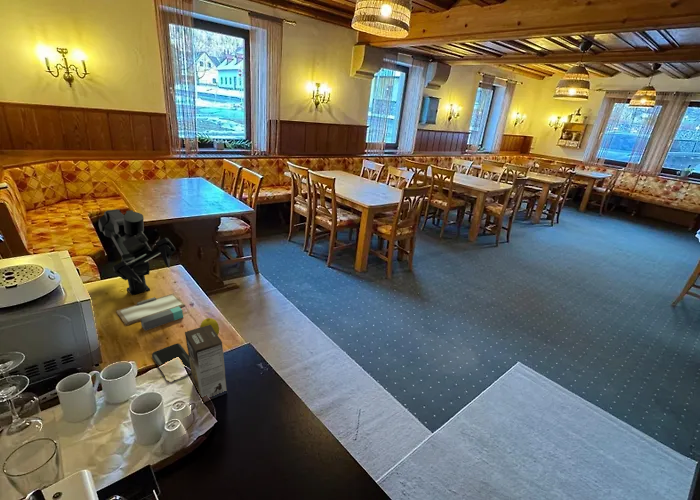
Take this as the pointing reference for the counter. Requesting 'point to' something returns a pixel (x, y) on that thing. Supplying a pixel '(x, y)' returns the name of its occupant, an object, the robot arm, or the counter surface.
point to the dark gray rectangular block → (161, 318)
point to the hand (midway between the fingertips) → (155, 274)
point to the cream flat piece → (148, 308)
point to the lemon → (210, 322)
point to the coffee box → (206, 361)
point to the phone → (171, 355)
